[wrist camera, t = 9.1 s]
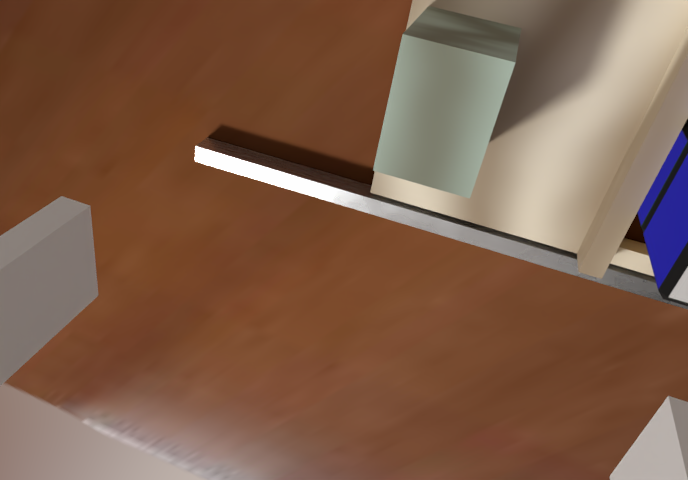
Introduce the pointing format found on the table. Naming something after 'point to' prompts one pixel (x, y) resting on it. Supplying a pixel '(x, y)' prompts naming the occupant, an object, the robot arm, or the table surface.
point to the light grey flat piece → (409, 213)
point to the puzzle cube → (669, 223)
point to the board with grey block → (538, 117)
